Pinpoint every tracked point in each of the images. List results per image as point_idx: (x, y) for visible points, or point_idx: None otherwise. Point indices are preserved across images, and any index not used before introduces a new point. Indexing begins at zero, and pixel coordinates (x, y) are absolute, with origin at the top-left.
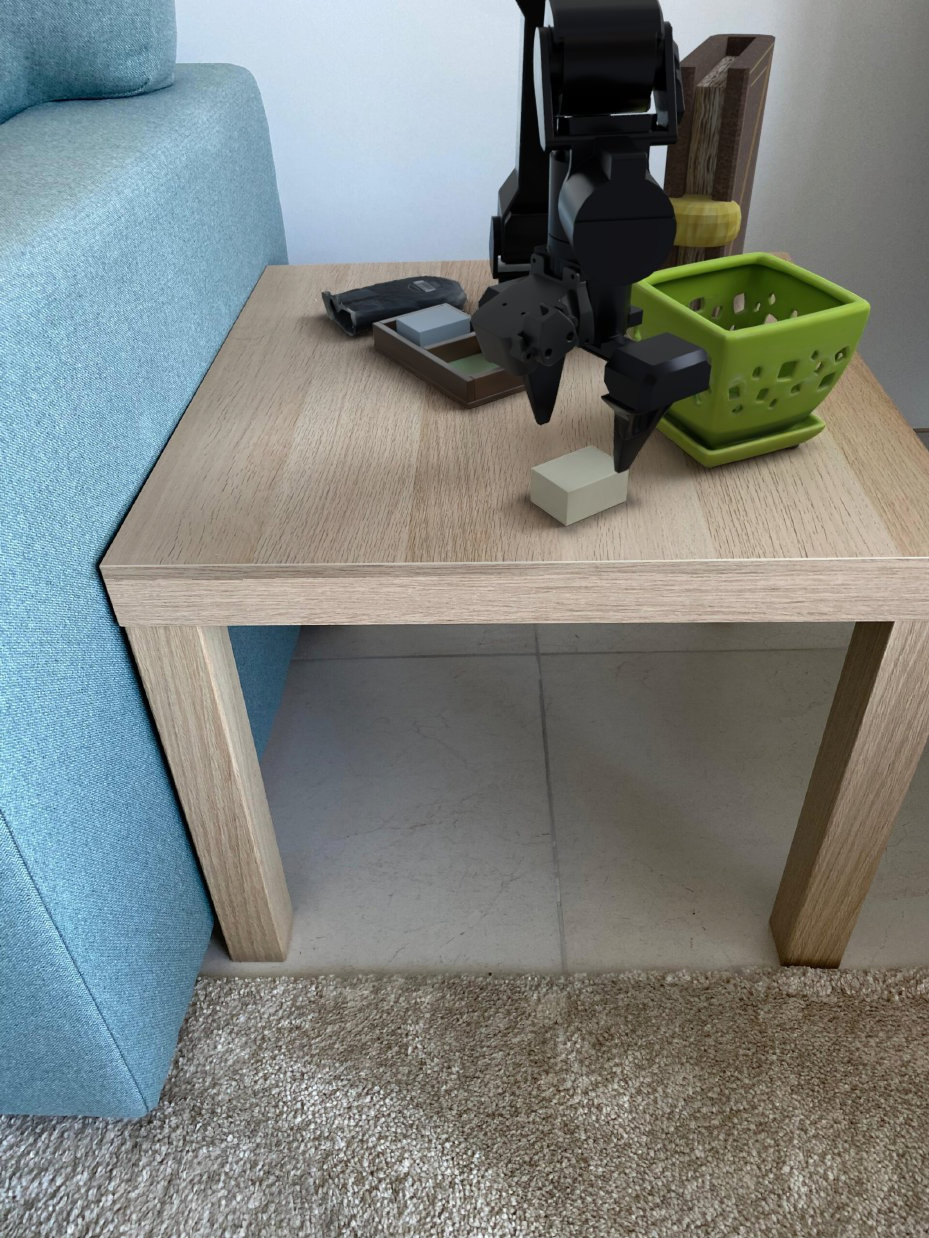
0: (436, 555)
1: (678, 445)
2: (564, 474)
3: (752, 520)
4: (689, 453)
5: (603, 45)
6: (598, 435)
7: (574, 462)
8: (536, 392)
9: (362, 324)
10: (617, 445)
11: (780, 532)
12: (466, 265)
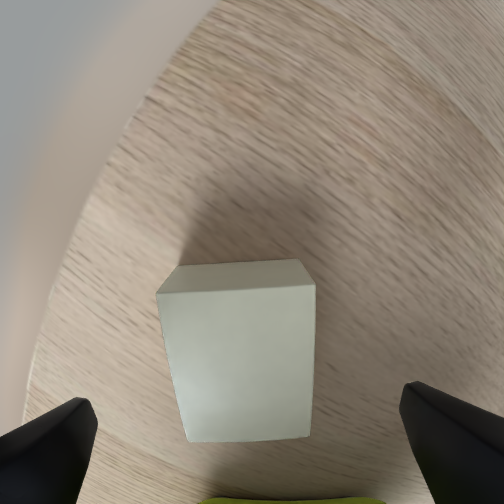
0: (235, 9)
1: (278, 501)
2: (235, 335)
3: (90, 457)
4: (244, 502)
5: None
6: (384, 446)
7: (269, 381)
8: (460, 439)
9: None
10: (23, 436)
11: None
12: None
